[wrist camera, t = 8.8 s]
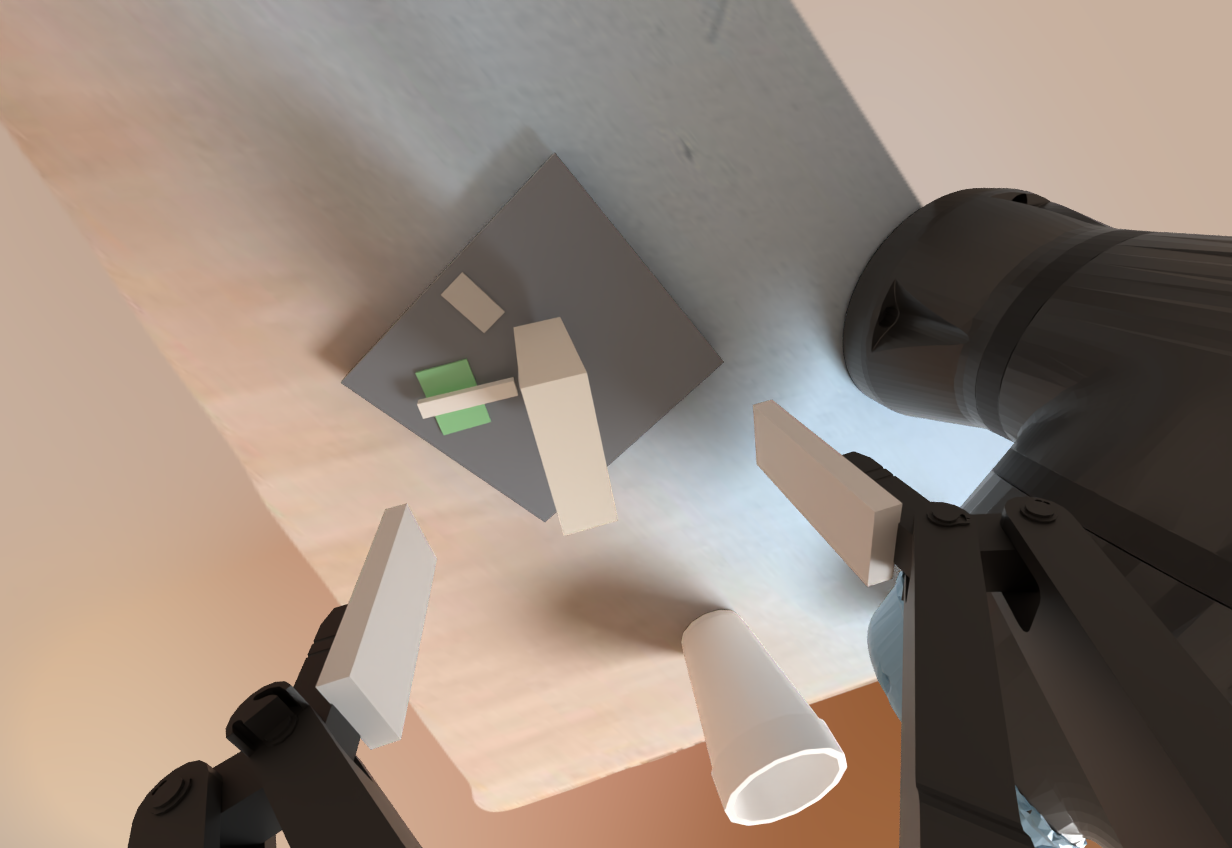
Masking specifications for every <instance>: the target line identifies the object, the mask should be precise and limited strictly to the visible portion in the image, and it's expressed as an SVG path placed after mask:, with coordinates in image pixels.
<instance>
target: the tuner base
mask: <svg viewBox="0 0 1232 848" xmlns="http://www.w3.org/2000/svg"><path fill="white" fill-rule="evenodd" d="M557 317H560V318H561V320H562V322H563V324H564V326H565V328H566V330H567V332H568V334H569V336H570V338H571V340H572V343H573V345H574V347H575V349H576V351H577V353H578V355H579V357H580V359H581V361H582V363H583V365H584V368H585V370H586V372H587V375H588V380H589V385H590V390H591V394H592V399H593V404H594V408H595V413H596V418H597V423H598V427H599V432H600V437H601V442H602V446H603V451H604V456H605V460H606V465H607V466H608V465H610V464H611V463H612V462H613V461H614V460H615V459H616V458H617V457H619V456H620V455H621V454H622V453H623V452H624V451H625V450H626V449H627V448H629V447H630V446H631V445H632V444H633V443H634V442H635V441H636V440H638V439H639V438H640V437H641V436H642V435H643V434H644V433H645V432H646V431H648V430H649V429H650V428H651V427H652V426H653V425H654V424H655V423H657V422H658V421H659V420H660V419H661V418H662V417H663V416H664V415H665V414H667V413H668V412H669V411H670V410H671V409H672V408H673V407H674V406H675V405H677V404H678V403H679V402H680V401H681V400H682V399H683V398H684V397H686V396H687V395H688V394H689V393H690V392H691V391H692V390H693V389H694V388H696V387H697V386H698V385H699V384H700V383H701V382H702V381H703V380H705V379H706V378H707V377H708V376H709V375H710V374H711V373H712V372H713V371H715V370H716V369H717V368H718V367H719V366H720V365H721V364H722V363H724V361H723V360H722V359H721V358H720V356H719V355H718V354H717V353H716V351H715V350H714V349H713V348H712V346H711V345H710V344H709V343H708V342H707V340H706V339H705V338H704V337H703V335H702V334H701V333H700V332H699V330H698V329H697V328H696V327H695V325H694V324H693V323H692V322H691V320H690V319H689V318H688V317H687V316H686V314H685V313H684V312H683V311H682V309H681V308H680V307H679V306H678V304H677V303H676V302H675V301H674V299H673V298H672V297H671V296H670V295H669V293H668V292H667V291H666V290H665V288H664V287H663V286H662V285H661V283H660V282H659V281H658V280H657V278H656V277H655V276H654V275H653V273H652V272H651V271H650V270H649V269H648V267H647V266H646V265H645V264H644V262H643V261H642V260H641V259H640V257H639V256H638V255H637V254H636V252H635V251H634V250H633V249H632V247H631V246H630V245H629V244H628V243H627V241H626V240H625V239H624V238H623V236H622V235H621V234H620V233H619V231H618V230H617V229H616V228H615V226H614V225H613V224H612V223H611V221H610V220H609V219H608V218H607V217H606V215H605V214H604V213H603V212H602V210H601V209H600V208H599V207H598V205H597V204H596V203H595V202H594V200H593V199H592V198H591V197H590V195H589V194H588V193H587V192H586V191H585V189H584V188H583V187H582V186H581V184H580V183H579V182H578V181H577V179H576V178H575V177H574V176H573V174H572V173H571V172H570V171H569V169H568V168H567V167H566V166H565V165H564V163H563V162H562V161H561V160H560V158H559V157H558V156H557V155H556V153H554V154H552V155H551V156H550V157H549V158H548V160H547V161H546V162H545V163H544V164H543V165H542V166H541V167H540V168H539V169H538V170H537V171H536V172H535V173H534V175H533V176H532V177H531V178H530V179H529V180H528V181H527V182H526V183H525V184H524V185H523V186H522V187H521V188H520V190H519V191H518V192H517V193H516V194H515V195H514V196H513V197H512V198H511V199H510V200H509V201H508V202H507V203H506V205H505V206H504V207H503V208H502V209H501V210H500V211H499V212H498V213H497V214H496V215H495V216H494V217H493V218H492V220H491V221H490V222H489V223H488V224H487V225H486V226H485V227H484V228H483V229H482V230H481V231H480V232H479V233H478V235H477V236H476V237H475V238H474V239H473V240H472V241H471V242H470V243H469V244H468V245H467V246H466V247H465V248H464V249H463V251H462V252H461V253H460V254H459V255H458V256H457V257H456V258H455V259H454V260H453V261H452V262H451V263H450V264H449V266H448V267H447V268H446V269H445V270H444V271H443V272H442V273H441V274H440V275H439V276H438V277H437V278H436V279H435V281H434V282H433V283H432V284H431V285H430V286H429V287H428V288H427V289H426V290H425V291H424V292H423V293H422V294H421V296H420V297H419V298H418V299H417V300H416V301H415V302H414V303H413V304H412V305H411V306H410V307H409V308H408V309H407V311H406V312H405V313H404V314H403V315H402V316H401V317H400V318H399V319H398V320H397V321H396V322H395V323H394V324H393V326H392V327H391V328H390V329H389V330H388V331H387V332H386V333H385V334H384V335H383V336H382V337H381V338H380V339H379V341H378V342H377V343H376V344H375V345H374V346H373V347H372V348H371V349H370V350H369V351H368V352H367V353H366V354H365V356H364V357H363V358H362V359H361V360H360V361H359V362H358V363H357V364H356V365H355V366H354V367H353V368H352V369H351V371H350V372H349V373H348V374H347V375H346V376H345V378H344V379H343V380H342V382H341V383H342V384H343V385H345V386H346V387H348V388H349V389H351V390H352V391H353V392H355V393H356V394H358V395H359V396H361V397H362V398H364V399H365V400H367V401H368V402H370V403H371V404H372V405H374V406H375V407H377V408H378V409H380V410H381V411H383V412H384V413H386V414H387V415H389V416H390V417H392V418H393V419H394V420H396V421H397V422H399V423H400V424H402V425H403V426H405V427H406V428H408V429H409V430H411V431H412V432H413V433H415V434H416V435H418V436H419V437H421V438H422V439H424V440H425V441H427V442H428V443H430V444H431V445H432V446H434V447H435V448H437V449H438V450H440V451H441V452H443V453H444V454H446V455H447V456H449V457H450V458H451V459H453V460H454V461H456V462H457V463H459V464H460V465H462V466H463V467H465V468H466V469H468V470H469V471H470V472H472V473H473V474H475V475H476V476H478V477H479V478H481V479H482V480H484V481H485V482H487V483H488V484H490V485H491V486H492V487H494V488H495V489H497V490H498V491H500V492H501V493H503V494H504V495H506V496H507V497H509V498H510V499H511V500H513V501H514V502H516V503H517V504H519V505H520V506H522V507H523V508H525V509H526V510H528V511H529V512H530V513H532V514H533V515H535V516H536V517H538V518H539V519H541V520H542V521H544V522H546V521H547V520H548V519H549V518H550V517H552V516H553V515H554V514H555V513H556V512H557V511H556V507H555V504H554V501H553V497H552V494H551V490H550V487H549V484H548V480H547V477H546V473H545V470H544V467H543V463H542V460H541V456H540V453H539V450H538V446H537V443H536V440H535V436H534V433H533V429H532V426H531V423H530V419H529V416H528V412H527V409H526V406H525V402H524V399H523V395H522V392H521V390H520V388H519V383H518V363H517V354H516V346H515V337H514V328H513V327H517V326H522V325H526V324H530V323H535V322H539V321H544V320H548V319H552V318H557ZM511 377H513V378H514V381H515V384H516V388H517V391H518V396H515V397H510V398H506V399H502V400H498V401H494V402H490V403H486V404H482V405H478V406H474V407H470V408H466V409H462V410H458V411H453V412H449V413H445V414H441V415H437V416H433V417H429V418H425V419H423V417H422V415H421V413H420V410H419V408H418V406H417V403H418V400H420V399H424V398H428V397H432V396H436V395H440V394H445V393H449V392H453V391H457V390H461V389H465V388H470V387H474V386H478V385H482V384H486V383H490V382H495V381H499V380H503V379H507V378H511Z"/></svg>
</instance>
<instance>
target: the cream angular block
mask: <svg viewBox="0 0 1232 848" xmlns="http://www.w3.org/2000/svg"><path fill="white" fill-rule="evenodd" d="M513 328H514V337H515V346H516V354H517V363H518V383H519V388H520V390H521V392H522V395H523V399H524V402H525V406H526V409H527V412H528V416H529V419H530V423H531V426H532V429H533V433H534V436H535V440H536V443H537V446H538V450H539V453H540V456H541V460H542V463H543V467H544V470H545V473H546V477H547V480H548V484H549V487H550V490H551V494H552V497H553V501H554V504H555V507H556V511H557V514H558V518H559V521H560V524H561V528H562V531H563V534H564V536H566V535H570V534H573V533H577V532H580V531H584V530H587V529H590V528H594V527H597V526H601V525H604V524H608V523H611V522H615V521H618V517H617V513H616V508H615V503H614V498H613V494H612V489H611V484H610V479H609V475H608V470H607V465H606V460H605V456H604V451H603V446H602V442H601V437H600V432H599V427H598V423H597V418H596V413H595V408H594V404H593V399H592V394H591V390H590V385H589V380H588V375H587V372H586V370H585V368H584V365H583V363H582V361H581V359H580V357H579V355H578V353H577V351H576V349H575V347H574V345H573V343H572V340H571V338H570V336H569V334H568V332H567V330H566V328H565V326H564V324H563V322H562V320H561V318H560V317H557V318H552V319H548V320H544V321H539V322H535V323H530V324H526V325H522V326H517V327H513ZM515 396H518V391H517V388H516V384H515V381H514V378H513V377H511V378H507V379H503V380H499V381H495V382H490V383H486V384H482V385H478V386H474V387H470V388H465V389H461V390H457V391H453V392H449V393H445V394H440V395H436V396H432V397H428V398H424V399H420V400H418V403H417V406H418V408H419V410H420V413H421V415H422V417H423V419H425V418H429V417H433V416H437V415H441V414H445V413H449V412H453V411H458V410H462V409H466V408H470V407H474V406H478V405H482V404H486V403H490V402H494V401H498V400H502V399H506V398H510V397H515Z"/></svg>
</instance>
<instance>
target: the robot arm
mask: <svg viewBox="0 0 1232 848" xmlns="http://www.w3.org/2000/svg"><path fill="white" fill-rule="evenodd" d="M843 349H844V358H845V362H846V366H847V369H848V372H849V374H850V376H851V378H852V380H853V382H854V383H855V385H856V386H857V387H858V388H859V389H860V390H861V391H862V392H863V393H864V394H865V395H866V396H868V397H869V398H871V399H873V400H875V401H876V402H878V403H880V404H882V405H883V406H885V407H887V408H889V409H890V410H893V411H895V412H897V413H900V414H903V415H907V416H912V417H919V418H925V419H930V420H936V421H942V422H948V423H954V424H960V425H966V426H972V427H978V428H984V429H988V430H990V431H992V432H994V433H996V434H998V435H1000V436H1002V437H1004V438H1006V439H1008V440H1010V441H1012V442H1014V444H1013V445H1012V446H1011V448H1010V449H1009V450H1008V451H1007V453H1006V454H1005V455H1004V456H1003V457H1002V459H1001V460H1000V461H999V462H998V463H997V465H996V466H995V467H994V468H993V469H992V470H991V472H990V473H989V474H988V475H987V476H986V477H985V479H984V480H983V481H982V482H981V483H980V485H979V486H978V487H977V488H976V489H975V490H974V492H973V493H972V494H971V495H970V496H969V498H968V499H967V500H966V501H965V502H964V503H963V505H962V506H961V507H958V506H955V505H952V504H948V503H944V502H930V501H928V500H927V499H926V498H924V497H923V496H922V495H920V494H919V493H918V492H916V491H915V490H914V489H912V488H911V487H909V486H908V485H907V484H905V483H904V482H903V481H901V480H900V479H899V478H897V477H896V476H893V474H892V473H891V472H889V471H888V470H887V469H883V467H882V466H881V465H880V464H878V463H877V462H876V461H874V460H873V459H872V458H870V457H867V456H865V455H862V454H859V453H857V452H850V453H847V454H844V455H841V454H840V453H838V452H837V451H836V450H835V449H833V448H832V447H831V446H830V445H828V444H827V443H826V442H825V441H823V440H822V439H821V438H820V437H818V436H817V435H816V434H815V433H813V432H812V431H811V430H809V429H808V428H807V427H806V426H804V425H803V424H802V423H801V422H799V421H798V420H797V419H796V418H794V417H793V416H792V415H791V414H789V413H788V412H787V411H786V410H784V409H783V408H782V407H781V406H779V405H778V404H777V403H776V402H774V401H773V400H768V401H765V402H761V403H758V404H754V405H753V413H754V429H755V445H756V461H757V465H758V466H759V467H760V468H761V469H762V471H763V472H764V473H765V474H766V475H767V476H768V477H769V478H770V479H771V481H772V482H773V483H774V484H775V485H776V486H777V487H778V488H779V489H780V490H781V492H782V493H783V494H784V495H785V496H786V497H787V498H788V499H789V500H790V502H791V503H792V504H793V505H794V506H795V507H796V508H797V509H798V510H799V512H800V513H801V514H802V515H803V516H804V517H805V518H806V519H807V520H808V521H809V523H810V524H811V525H812V526H813V527H814V528H815V529H816V530H817V531H818V533H819V534H820V535H821V536H822V537H823V538H824V539H825V540H826V541H827V543H828V544H829V545H830V546H831V547H832V548H833V549H834V550H835V551H836V552H837V554H838V555H839V556H840V557H841V558H842V559H843V560H844V561H845V562H846V564H847V565H848V566H849V567H850V568H851V569H852V570H853V571H854V572H855V574H856V575H857V576H858V577H859V578H860V579H861V580H862V581H863V582H864V583H865V585H866V586H867V587H869V586H872V585H875V584H878V583H881V582H884V581H887V580H890V579H892V578H893V571H894V563H895V564H896V565H897V566H898V567H899V568H900V569H901V570H902V571H901V572H900V573H899V575H898V578H897V579H896V585H895V586H894V587H893V589H892V590H891V591H890V593H889V594H888V595H887V597H886V598H885V599H884V601H883V602H882V604H881V605H880V606H879V608H878V609H877V610H876V612H875V613H874V615H873V616H872V618H871V620H870V623H869V627H868V634H867V643H868V650H869V655H870V659H871V663H872V666H873V669H874V672H875V674H876V677H877V679H878V681H879V683H880V685H881V687H882V688H883V690H884V691H885V693H886V695H887V697H888V699H889V702H890V705H891V706H892V708H893V710H894V711H895V713H896V715H897V716H898V718H899V719H900V721H901V722H902V727H901V728H902V729H901V784H900V841H899V842H900V844H899V848H1084V846H1086V844H1087V842H1086V839H1089V840H1092V841H1094V842H1096V843H1097V844H1098V845H1100V846H1101V847H1103V848H1232V236H1216V235H1200V234H1185V233H1169V232H1150V231H1136V230H1126V229H1116V228H1112V227H1110V226H1108V225H1105V224H1103V223H1101V222H1098V221H1096V220H1094V219H1092V218H1090V217H1087V216H1085V215H1083V214H1080V213H1078V212H1076V211H1074V210H1071V209H1069V208H1067V207H1064V206H1062V205H1059V204H1056V203H1053V202H1050V201H1049V200H1047V199H1046V198H1044V197H1041V196H1039V195H1037V194H1034V193H1031V192H1028V191H1023V190H1018V189H1008V188H973V189H965V190H961V191H957V192H954V193H950V194H948V195H945V196H943V197H941V198H938V199H936V200H934V201H932V202H931V203H929V204H927V205H925V206H924V207H922V208H921V209H919V210H918V211H917V212H915V213H914V214H912V215H911V216H910V217H909V218H907V219H906V220H905V221H904V222H903V223H902V224H901V225H900V226H898V227H897V228H896V229H895V230H894V231H893V232H892V233H891V235H890V236H889V237H888V238H887V239H886V240H885V241H884V242H883V244H882V245H881V246H880V247H879V249H878V250H877V251H876V253H875V254H874V256H873V257H872V259H871V260H870V262H869V263H868V265H867V266H866V268H865V270H864V272H863V273H862V275H861V277H860V279H859V281H858V283H857V285H856V288H855V290H854V292H853V295H852V298H851V301H850V304H849V307H848V311H847V315H846V319H845V325H844V334H843ZM436 561H437V558H436V556H435V554H434V552H433V550H432V549H431V547H430V545H429V543H428V541H427V539H426V537H425V536H424V534H423V532H422V530H421V528H420V526H419V524H418V523H417V521H416V519H415V517H414V515H413V513H412V512H411V510H410V508H409V506H408V504H407V503H406V504H403V505H399V506H396V507H392V508H389V509H385V512H384V514H383V517H382V519H381V522H380V524H379V527H378V529H377V532H376V535H375V537H374V540H373V542H372V545H371V547H370V550H369V552H368V555H367V557H366V560H365V563H364V565H363V568H362V570H361V573H360V575H359V578H358V580H357V583H356V585H355V588H354V590H353V593H352V596H351V598H350V601H349V603H348V604H346V605H343V606H340V607H336V608H334V609H333V610H332V611H331V613H330V614H329V615H328V617H327V618H326V619H325V620H324V621H323V623H322V624H321V625H320V628H319V630H318V632H317V634H316V637H315V639H314V644H312V646H311V648H310V650H309V653H308V658H306V660H305V662H304V664H303V666H302V669H301V671H300V673H299V676H298V678H297V680H296V682H295V685H294V687H292V686H291V685H290V684H289V683H287V682H285V681H283V682H274V683H272V684H269V685H267V686H264V687H262V688H261V689H259V690H258V691H256V692H255V693H253V694H252V695H251V696H249V697H248V698H247V699H246V700H245V701H244V702H243V703H242V704H241V705H240V706H239V707H238V708H237V710H236V711H235V712H234V714H233V715H232V716H231V718H230V720H229V723H228V725H227V727H226V738H227V739H228V740H229V741H230V742H231V743H233V744H234V745H235V746H236V747H237V748H238V749H239V750H241V752H239V753H237V754H236V755H234V756H232V757H231V758H229V759H227V760H226V761H224V762H222V763H220V764H219V765H217V766H215V767H214V768H212V767H211V766H209V765H208V764H207V763H205V762H202V761H200V760H198V761H193V762H188V763H186V764H184V765H182V766H180V767H179V768H177V769H175V770H174V771H172V772H171V773H170V774H168V775H167V776H166V777H164V778H163V779H162V780H161V781H160V782H159V783H158V784H157V785H156V786H155V787H154V788H153V789H152V790H151V791H150V792H149V793H148V794H147V796H146V797H145V799H144V800H143V802H142V803H141V805H140V806H139V807H138V809H137V812H136V814H135V817H134V819H133V823H132V828H131V833H130V838H129V843H128V848H276V834H277V833H278V832H280V831H281V830H282V831H283V832H284V834H285V837H286V839H287V841H288V843H289V845H290V848H422V847H421V845H420V844H419V842H418V841H417V840H416V838H415V837H414V836H413V834H412V833H411V831H410V830H409V828H408V827H407V826H406V824H405V823H404V821H403V820H402V819H401V817H400V816H399V814H398V813H397V811H396V810H395V808H394V807H393V805H392V804H391V803H390V801H389V800H388V799H387V797H386V796H385V794H384V793H383V791H382V790H381V789H380V787H379V786H378V784H377V783H376V782H375V780H374V779H373V777H372V776H371V774H370V773H369V771H368V770H367V769H366V767H365V766H364V764H363V763H362V762H361V760H360V759H359V758H358V757H357V756H356V751H357V748H358V744H359V741H360V738H361V739H362V740H363V741H364V743H365V744H366V745H367V746H368V747H369V748H370V749H371V750H372V749H375V748H378V747H381V746H384V745H387V744H390V743H393V742H396V741H399V740H401V736H402V731H403V725H404V721H405V716H406V711H407V706H408V701H409V696H410V691H411V686H412V681H413V676H414V671H415V666H416V661H417V656H418V651H419V646H420V641H421V636H422V631H423V626H424V621H425V616H426V611H427V606H428V601H429V596H430V591H431V586H432V581H433V576H434V571H435V566H436Z"/></svg>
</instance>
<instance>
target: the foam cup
mask: <svg viewBox="0 0 1232 848" xmlns="http://www.w3.org/2000/svg"><path fill="white" fill-rule="evenodd" d="M681 644H682V647H683V653H684V657H685V661H686V665H687V669H688V673H689V677H690V681H691V685H692V689H693V693H694V697H695V701H696V705H697V709H698V713H699V717H700V721H701V725H702V729H703V733H704V737H705V741H706V745H707V749H708V752H709V757H710V760H711V764H712V772H711V775H712V778H713V780H714V783H715V786H716V788H717V791H718V794H719V797H720V799H721V802H722V805H723V808H724V810H725V812H726V814H727V816H728V817H729V819H730V820H731V822H734V823H739V824H743V825H747V826H749V825H757V824H764V823H771V822H774V821H776V820H779V819H782V818H784V817H787V816H790V815H793V814H796V813H798V812H799V811H801V810H803V809H804V808H806V807H808V806H810V805H811V804H813V803H814V802H816V801H818V800H820V799H821V798H822V797H823V796H824V795H825V794H826V793H828V792H829V791H830V790H831V789H832V788H833V787H834V786H835V785H836V784H838V782H839V781H840V779H841V777H842V775H843V773H844V772H845V770H846V768H847V764H846V759H845V755H844V753H843V751H842V749H841V748H840V746H839V744H838V743H837V741H836V739H835V738H834V736H833V735H832V733H831V731H830V730H829V728H828V726H827V725H826V723H825V721H824V720H822V719H820V718H818V717H817V715H816V714H815V713H814V711H813V710H812V709H811V707H810V706H809V705H808V703H807V702H806V701H805V699H804V698H803V697H802V695H801V694H800V693H799V692H798V690H797V689H796V688H795V686H794V685H793V684H792V682H791V681H790V680H789V678H788V677H787V676H786V674H785V673H784V672H783V671H782V669H781V668H780V667H779V665H778V664H777V663H776V661H775V660H774V659H773V657H772V656H771V655H770V654H769V652H768V651H767V650H766V648H765V647H764V646H763V644H762V643H761V642H760V640H759V639H758V638H757V636H756V635H755V634H754V633H753V631H752V630H751V629H750V627H749V626H748V625H747V623H746V622H745V621H744V620H743V619H742V618H741V616H740V615H738V614H737V613H735V612H733V611H732V610H716V611H713V612H710V613H706V614H704V615H702V616H701V617H699V618H698V619H696V620H694V621H693V622H692V623H691V624H690V625H689V626H688V628H687V629H686V630H685V631H684V633H683V637H682V641H681Z"/></svg>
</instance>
